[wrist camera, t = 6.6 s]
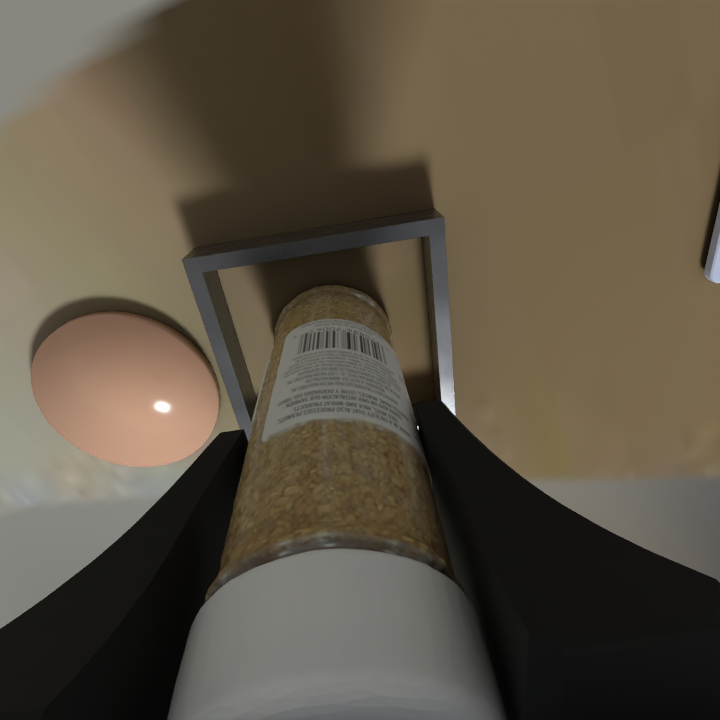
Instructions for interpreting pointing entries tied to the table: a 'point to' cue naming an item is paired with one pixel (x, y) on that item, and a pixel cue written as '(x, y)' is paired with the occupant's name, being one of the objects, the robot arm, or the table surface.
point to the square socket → (308, 242)
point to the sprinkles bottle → (335, 548)
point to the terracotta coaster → (126, 389)
